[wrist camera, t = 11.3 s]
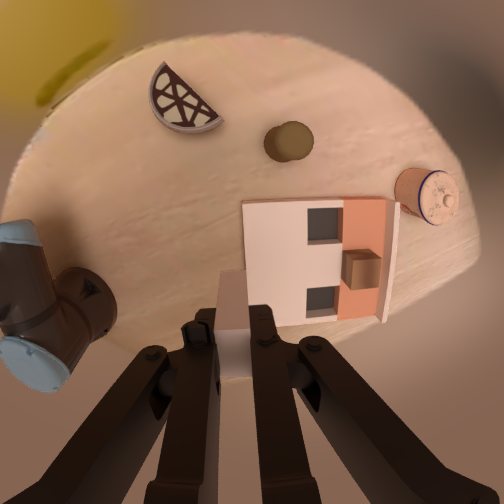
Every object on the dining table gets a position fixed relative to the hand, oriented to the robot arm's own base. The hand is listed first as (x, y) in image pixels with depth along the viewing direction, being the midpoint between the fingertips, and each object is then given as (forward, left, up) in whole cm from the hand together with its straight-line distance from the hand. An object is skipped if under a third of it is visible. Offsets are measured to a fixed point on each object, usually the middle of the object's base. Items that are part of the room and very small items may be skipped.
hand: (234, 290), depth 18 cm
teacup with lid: (+34, +2, -31) cm, 46 cm away
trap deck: (+13, -10, -30) cm, 35 cm away
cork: (+8, +10, -31) cm, 33 cm away
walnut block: (+20, -10, -27) cm, 35 cm away
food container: (-7, +16, -31) cm, 35 cm away
